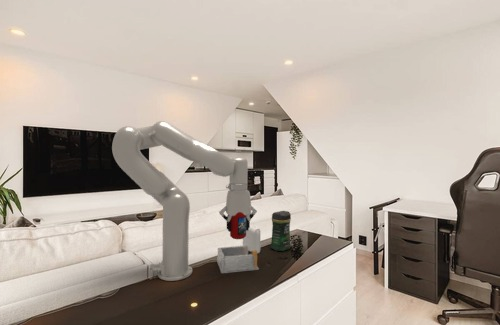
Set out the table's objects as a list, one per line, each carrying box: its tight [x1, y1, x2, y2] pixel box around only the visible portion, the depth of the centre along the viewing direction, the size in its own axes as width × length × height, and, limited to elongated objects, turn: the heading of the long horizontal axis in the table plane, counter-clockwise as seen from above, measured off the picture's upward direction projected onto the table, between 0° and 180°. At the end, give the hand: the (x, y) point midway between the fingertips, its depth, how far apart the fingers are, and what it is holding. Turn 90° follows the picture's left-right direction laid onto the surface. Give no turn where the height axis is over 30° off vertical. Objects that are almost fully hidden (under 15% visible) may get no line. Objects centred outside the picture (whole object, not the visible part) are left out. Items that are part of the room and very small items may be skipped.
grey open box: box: [216, 245, 260, 274], centre depth 107 cm, size 15×14×7 cm
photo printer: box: [242, 224, 261, 254], centre depth 125 cm, size 10×4×12 cm, turn 39°
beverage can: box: [229, 212, 246, 240], centre depth 107 cm, size 7×7×12 cm
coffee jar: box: [270, 210, 292, 252], centre depth 127 cm, size 10×8×19 cm
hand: (238, 229), depth 107 cm, fingers closed on beverage can, 6 cm apart
